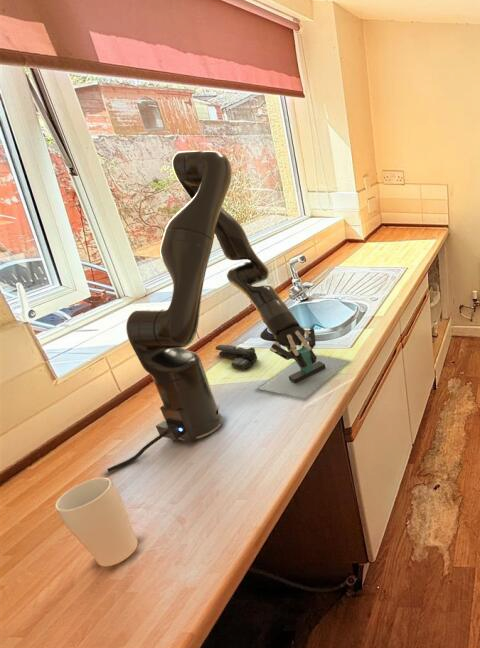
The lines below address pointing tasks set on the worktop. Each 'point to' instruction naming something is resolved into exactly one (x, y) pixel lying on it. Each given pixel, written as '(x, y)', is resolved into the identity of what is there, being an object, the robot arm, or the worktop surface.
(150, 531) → the worktop surface
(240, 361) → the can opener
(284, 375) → the cloth mat
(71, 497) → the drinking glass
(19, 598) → the worktop surface
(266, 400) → the worktop surface
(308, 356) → the wiper
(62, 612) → the worktop surface
